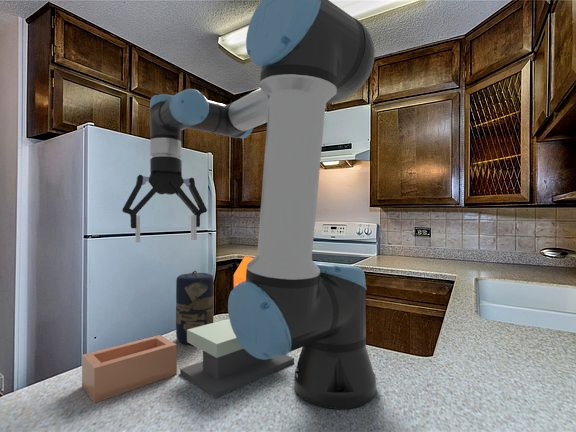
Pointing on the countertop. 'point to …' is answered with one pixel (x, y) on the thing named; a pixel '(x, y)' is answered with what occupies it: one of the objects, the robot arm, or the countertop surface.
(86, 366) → the dish
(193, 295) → the canister
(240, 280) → the orange juice
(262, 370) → the mat stand
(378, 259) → the countertop surface
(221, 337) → the board
